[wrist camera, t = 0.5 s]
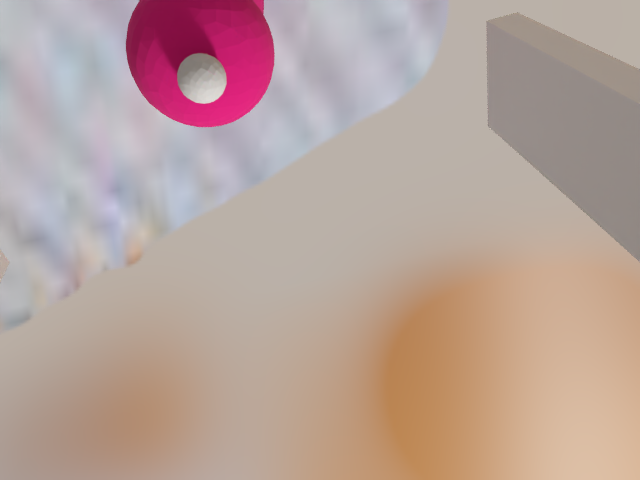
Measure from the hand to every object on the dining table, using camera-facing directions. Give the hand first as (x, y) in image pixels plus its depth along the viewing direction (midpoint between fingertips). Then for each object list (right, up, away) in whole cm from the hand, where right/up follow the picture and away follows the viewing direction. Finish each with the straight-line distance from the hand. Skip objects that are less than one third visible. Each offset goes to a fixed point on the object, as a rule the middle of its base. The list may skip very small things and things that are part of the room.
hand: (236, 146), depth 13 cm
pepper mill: (-6, +14, +22) cm, 27 cm away
